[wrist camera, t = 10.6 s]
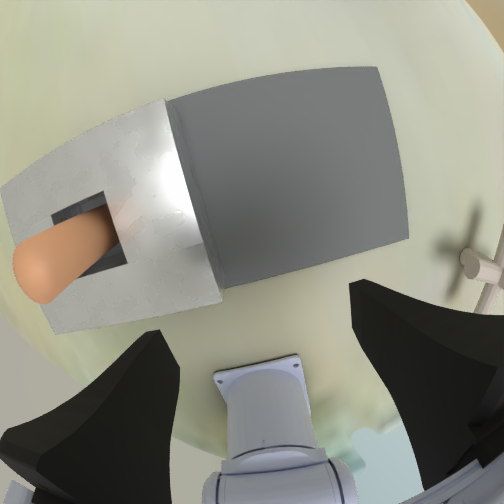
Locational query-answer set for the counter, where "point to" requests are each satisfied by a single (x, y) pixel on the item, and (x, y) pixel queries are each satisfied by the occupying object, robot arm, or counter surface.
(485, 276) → the pipe connector
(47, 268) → the pin
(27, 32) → the counter surface
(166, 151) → the hole block
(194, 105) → the rubber mat
